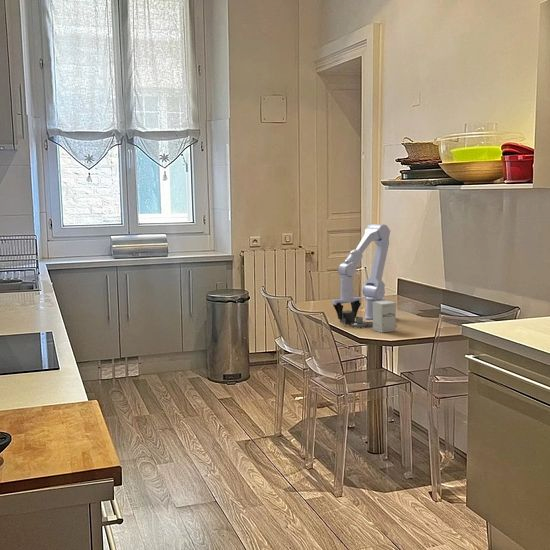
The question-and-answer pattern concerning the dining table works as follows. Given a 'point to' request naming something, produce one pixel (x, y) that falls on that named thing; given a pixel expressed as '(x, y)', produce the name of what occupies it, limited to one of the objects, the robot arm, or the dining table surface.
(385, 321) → the supplement box
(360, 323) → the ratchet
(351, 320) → the dark grey cube
